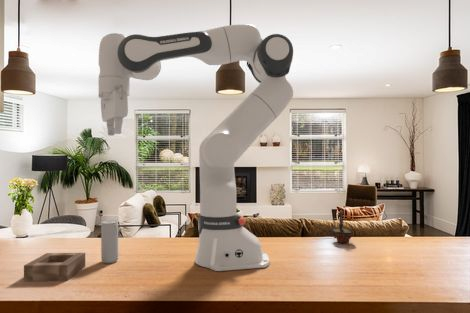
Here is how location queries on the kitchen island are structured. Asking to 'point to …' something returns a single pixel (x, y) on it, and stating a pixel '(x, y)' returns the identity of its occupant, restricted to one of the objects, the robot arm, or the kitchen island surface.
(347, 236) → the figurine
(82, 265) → the walnut holder
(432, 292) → the kitchen island surface
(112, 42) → the robot arm
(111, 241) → the beverage can
